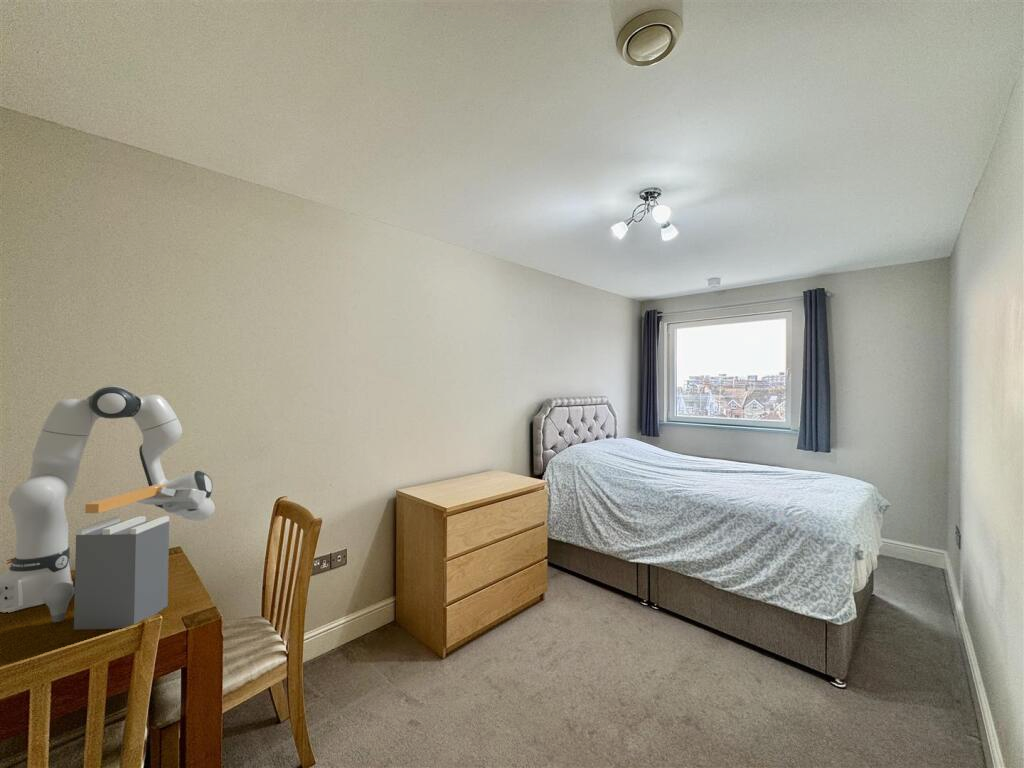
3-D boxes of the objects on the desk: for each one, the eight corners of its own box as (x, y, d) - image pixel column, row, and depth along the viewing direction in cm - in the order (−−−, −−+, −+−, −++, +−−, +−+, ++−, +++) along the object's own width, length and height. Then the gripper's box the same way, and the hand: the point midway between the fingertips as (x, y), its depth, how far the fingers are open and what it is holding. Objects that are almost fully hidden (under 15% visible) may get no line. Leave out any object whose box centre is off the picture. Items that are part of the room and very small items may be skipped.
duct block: (73, 629, 115) (76, 529, 116) (113, 607, 127) (115, 516, 128) (133, 628, 116) (136, 528, 116) (167, 606, 128) (169, 516, 128)
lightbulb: (39, 630, 115) (40, 590, 115) (46, 620, 120) (47, 582, 120) (70, 623, 118) (71, 584, 118) (76, 614, 123) (77, 576, 123)
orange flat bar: (85, 513, 116) (85, 504, 116) (155, 492, 140) (155, 484, 140) (98, 513, 116) (98, 504, 116) (166, 491, 140) (166, 484, 140)
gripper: (152, 492, 149) (123, 480, 137) (211, 491, 150) (187, 479, 138) (145, 510, 146) (114, 499, 134) (205, 509, 147) (179, 498, 135)
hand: (151, 489), depth 136 cm, fingers closed on orange flat bar, 3 cm apart
